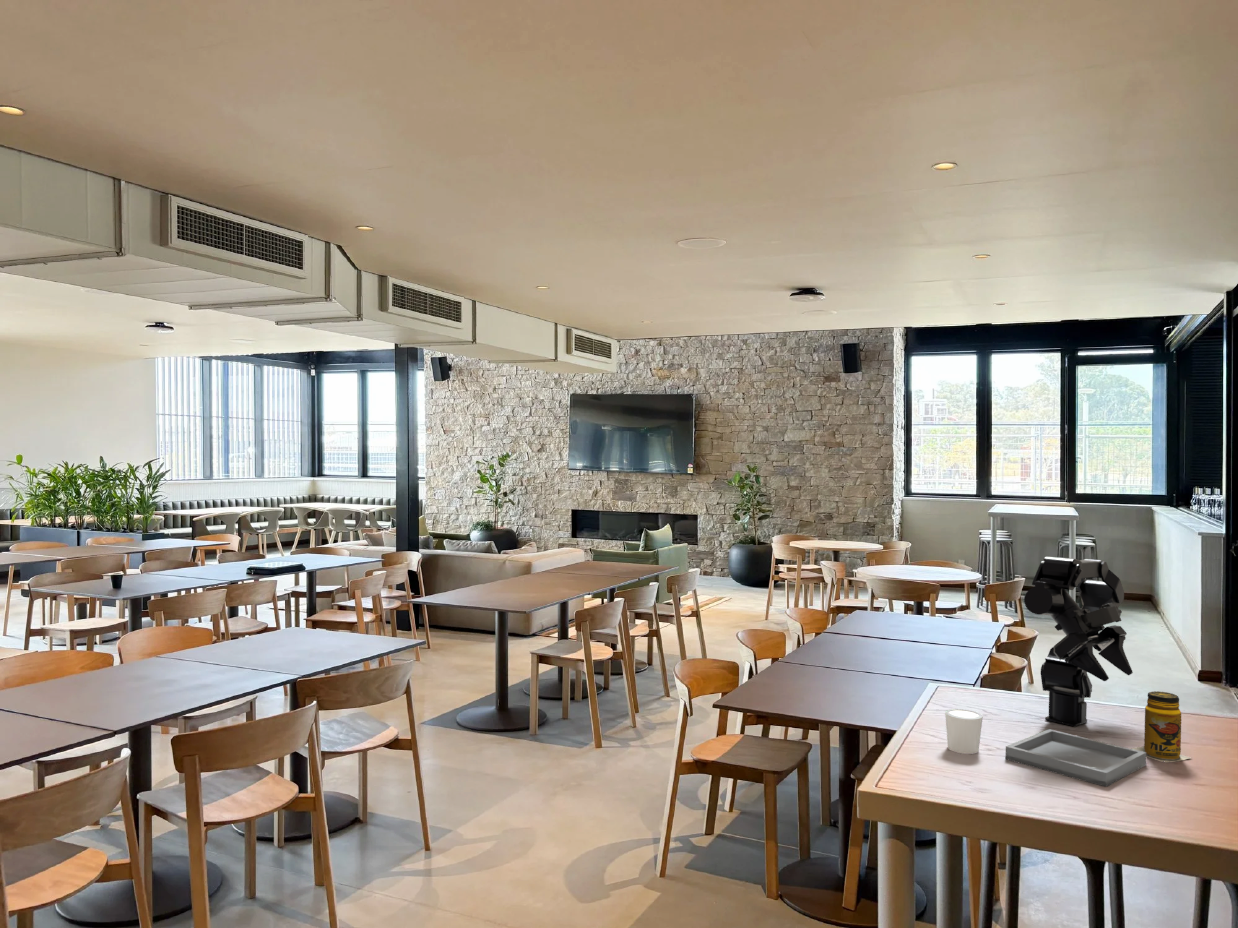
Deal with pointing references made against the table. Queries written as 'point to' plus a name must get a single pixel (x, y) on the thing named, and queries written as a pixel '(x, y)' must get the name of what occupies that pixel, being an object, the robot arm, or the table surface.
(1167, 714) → the condiment
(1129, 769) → the tray
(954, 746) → the shot glass
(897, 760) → the table surface
